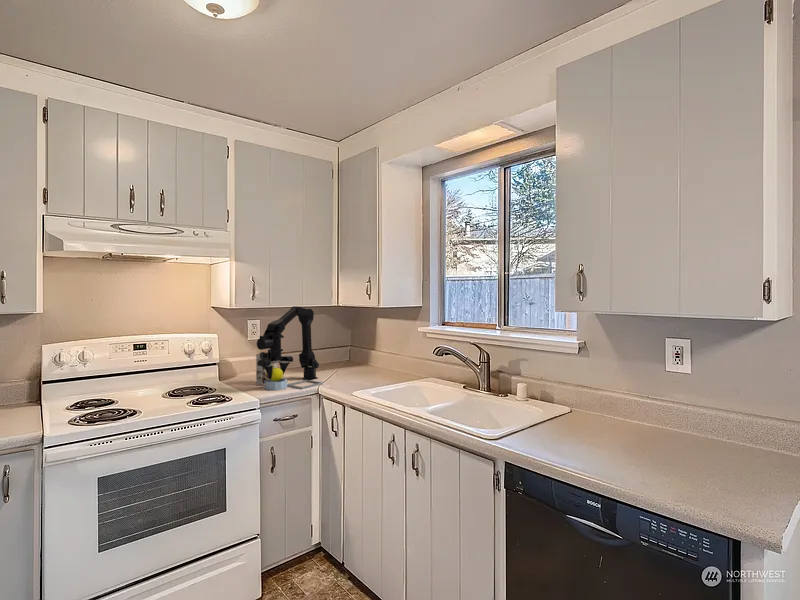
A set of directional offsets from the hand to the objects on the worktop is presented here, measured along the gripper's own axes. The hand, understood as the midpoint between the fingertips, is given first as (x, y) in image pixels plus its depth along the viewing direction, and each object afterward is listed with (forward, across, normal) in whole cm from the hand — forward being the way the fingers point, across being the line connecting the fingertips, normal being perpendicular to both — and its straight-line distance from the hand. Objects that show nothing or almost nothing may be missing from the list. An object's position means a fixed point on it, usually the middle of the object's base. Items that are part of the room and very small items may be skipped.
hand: (276, 377), depth 238 cm
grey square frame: (+6, -13, +7) cm, 16 cm away
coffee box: (+6, -5, -14) cm, 16 cm away
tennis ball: (+2, 0, 0) cm, 2 cm away
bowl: (+5, 0, 0) cm, 5 cm away
